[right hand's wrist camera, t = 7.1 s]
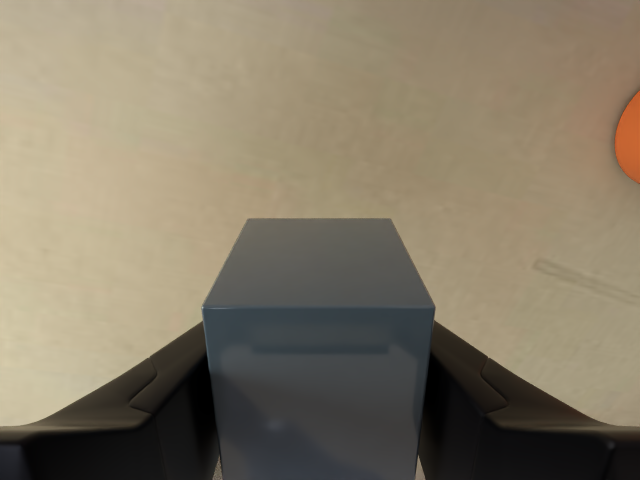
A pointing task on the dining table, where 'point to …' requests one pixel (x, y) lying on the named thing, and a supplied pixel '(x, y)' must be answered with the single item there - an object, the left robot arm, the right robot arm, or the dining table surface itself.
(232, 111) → the dining table surface
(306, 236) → the blue-grey cube
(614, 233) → the dining table surface
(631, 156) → the cup with straw
